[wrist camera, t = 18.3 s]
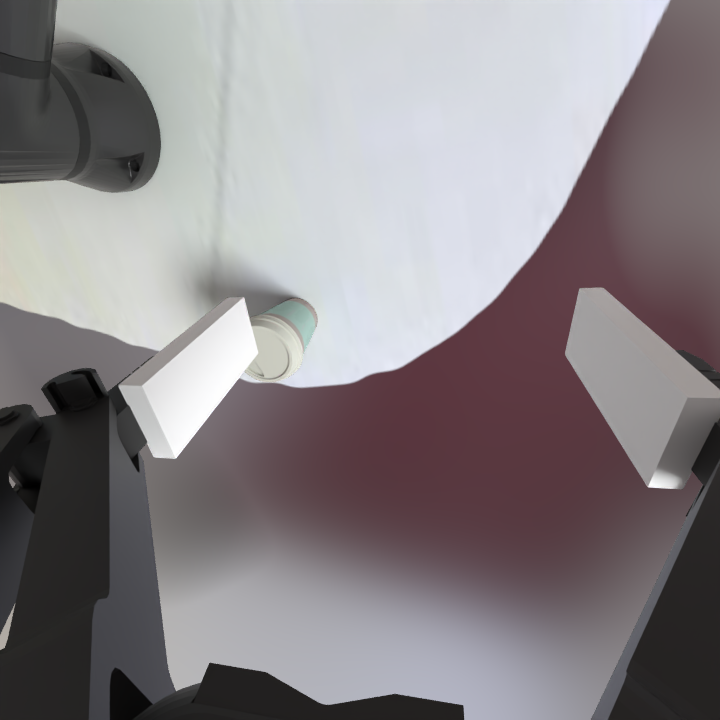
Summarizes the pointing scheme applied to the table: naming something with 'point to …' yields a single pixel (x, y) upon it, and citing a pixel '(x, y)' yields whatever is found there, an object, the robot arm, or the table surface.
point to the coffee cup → (281, 339)
